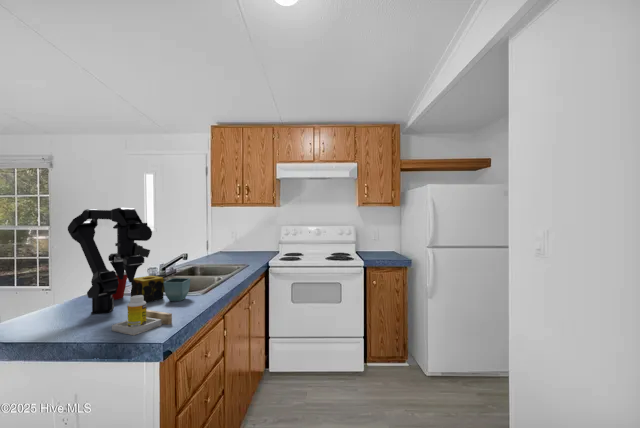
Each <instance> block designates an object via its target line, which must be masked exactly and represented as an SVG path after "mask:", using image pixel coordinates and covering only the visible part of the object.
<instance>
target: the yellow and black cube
mask: <svg viewBox="0 0 640 428" xmlns="http://www.w3.org/2000/svg"><path fill="white" fill-rule="evenodd" d="M164 282H165V279H164V277H162V276H157V275H146V276H140V277H134V280H133V282H130V285H131V289H130V290H131V291H130V297H132V296H136V295H143V296H144V300H143V301H146V304H147V303H151V302H156V301H160V300H164V298H165V297H164V293H165V292H164Z"/></svg>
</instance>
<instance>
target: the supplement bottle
mask: <svg viewBox="0 0 640 428" xmlns="http://www.w3.org/2000/svg"><path fill="white" fill-rule="evenodd" d="M129 299H130V302H128V304H127V320H128V327H133V328H136V327H138V326H141V325H144V324H146V310H147V303H146V301H143V300H144V296H143V295H136V296H132V297H131V296H130V298H129Z"/></svg>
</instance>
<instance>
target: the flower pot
mask: <svg viewBox="0 0 640 428" xmlns="http://www.w3.org/2000/svg"><path fill="white" fill-rule="evenodd" d="M191 280H192V279H191V278H189V277H188V278H187V277H186V278H179V277H178V278H177V277H174V278H170V279H168V280H164V285H163V290H164V293H165V296H166V298H167V300H168V301H170V302H181V301H183V300H184V299H186V297H187V296H188V294H189V292H190V286H191Z"/></svg>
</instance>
